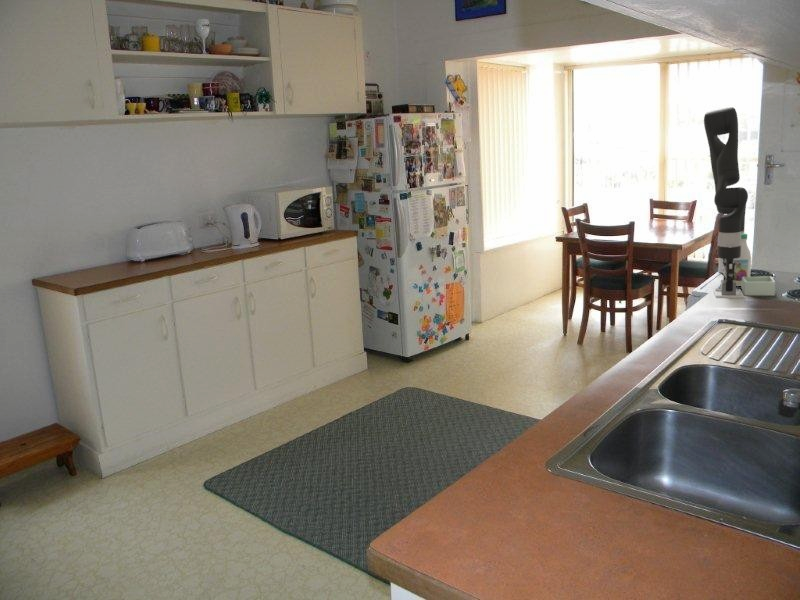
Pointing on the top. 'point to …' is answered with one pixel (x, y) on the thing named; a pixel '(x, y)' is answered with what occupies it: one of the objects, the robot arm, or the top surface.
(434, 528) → the top surface
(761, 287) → the green bin
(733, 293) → the gray cube
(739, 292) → the white tray
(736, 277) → the milk bottle
